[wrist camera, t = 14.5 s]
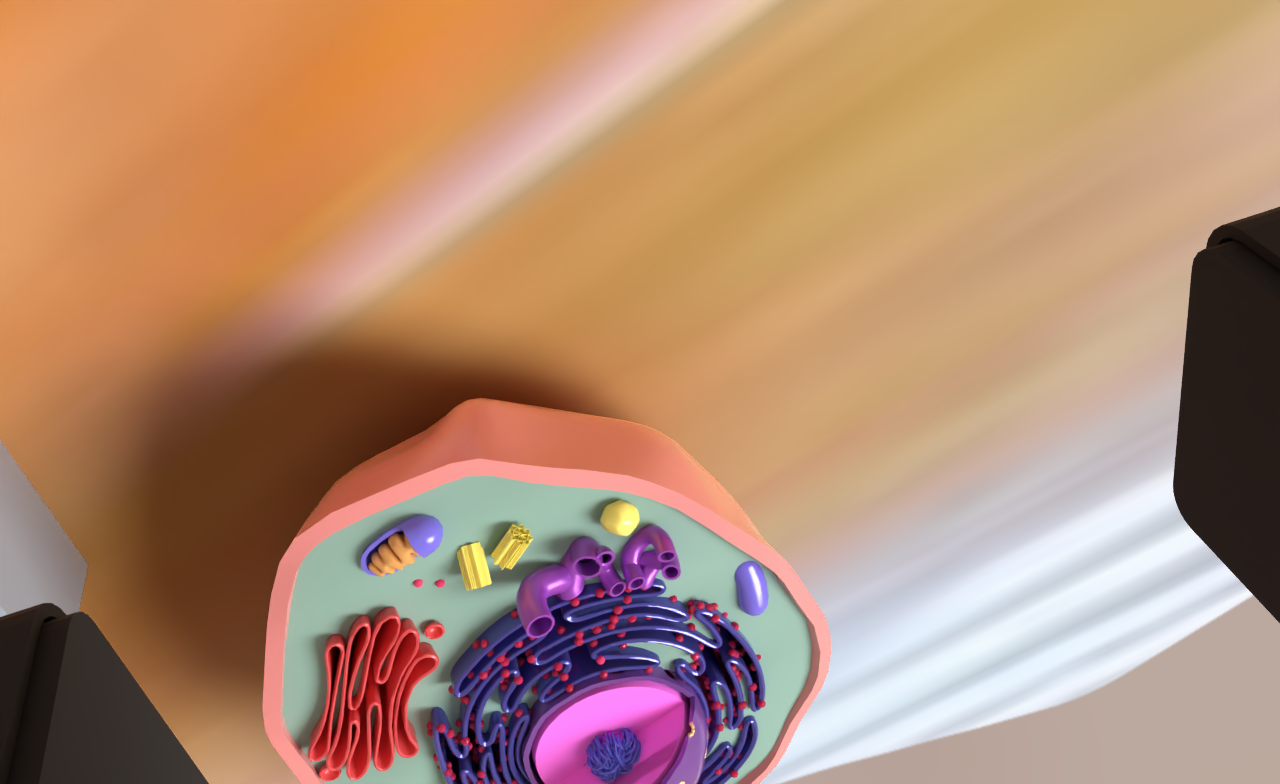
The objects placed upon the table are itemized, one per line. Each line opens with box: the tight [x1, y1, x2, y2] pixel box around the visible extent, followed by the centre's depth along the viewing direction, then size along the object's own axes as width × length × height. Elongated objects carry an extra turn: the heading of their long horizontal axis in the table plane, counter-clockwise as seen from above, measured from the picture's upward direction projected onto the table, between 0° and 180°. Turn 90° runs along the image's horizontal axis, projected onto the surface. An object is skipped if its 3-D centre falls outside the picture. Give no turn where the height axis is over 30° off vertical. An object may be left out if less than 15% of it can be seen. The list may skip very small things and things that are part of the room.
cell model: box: [262, 398, 831, 784], centre depth 40 cm, size 17×20×11 cm
